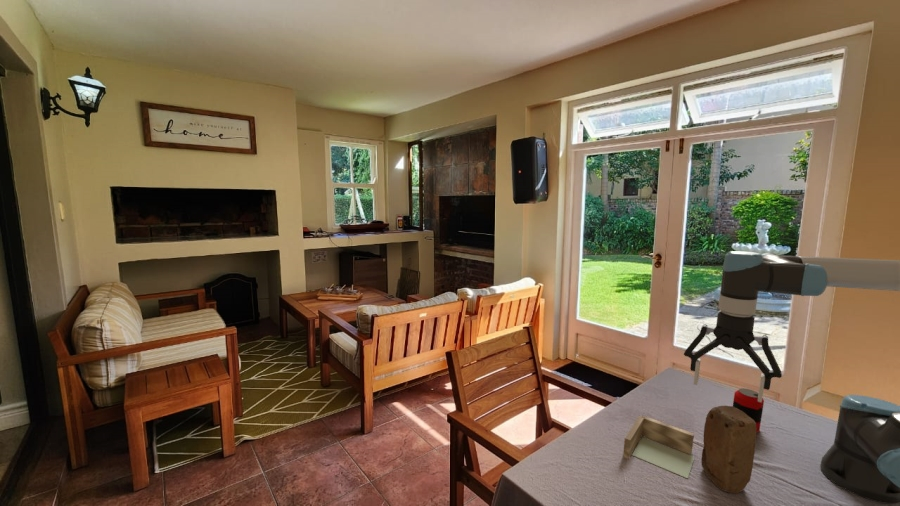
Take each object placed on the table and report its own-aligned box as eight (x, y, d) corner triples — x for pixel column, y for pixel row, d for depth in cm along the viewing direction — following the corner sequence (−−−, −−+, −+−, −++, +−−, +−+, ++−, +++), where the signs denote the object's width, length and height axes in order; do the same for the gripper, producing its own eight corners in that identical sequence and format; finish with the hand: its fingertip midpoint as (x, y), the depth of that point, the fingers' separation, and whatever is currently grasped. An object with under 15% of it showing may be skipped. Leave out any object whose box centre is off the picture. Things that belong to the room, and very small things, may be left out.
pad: (694, 457, 111) (694, 456, 111) (687, 478, 103) (687, 478, 103) (642, 437, 120) (642, 436, 120) (631, 455, 112) (632, 454, 111)
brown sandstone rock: (752, 495, 97) (763, 423, 94) (723, 496, 97) (733, 424, 93) (720, 465, 108) (729, 399, 105) (694, 466, 107) (702, 400, 104)
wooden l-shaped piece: (691, 452, 113) (694, 433, 112) (681, 482, 101) (684, 461, 100) (638, 431, 123) (639, 414, 122) (623, 456, 111) (624, 438, 110)
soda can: (755, 436, 121) (761, 401, 119) (727, 425, 126) (732, 391, 125) (762, 427, 125) (767, 393, 123) (734, 417, 131) (739, 384, 129)
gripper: (801, 319, 92) (789, 401, 95) (681, 300, 107) (674, 371, 111) (803, 327, 86) (790, 414, 89) (676, 306, 102) (669, 381, 105)
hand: (726, 391), depth 100 cm, fingers open, 13 cm apart
